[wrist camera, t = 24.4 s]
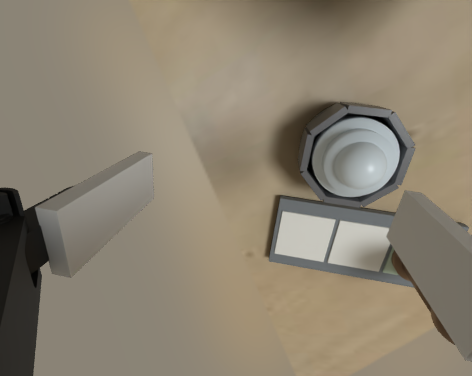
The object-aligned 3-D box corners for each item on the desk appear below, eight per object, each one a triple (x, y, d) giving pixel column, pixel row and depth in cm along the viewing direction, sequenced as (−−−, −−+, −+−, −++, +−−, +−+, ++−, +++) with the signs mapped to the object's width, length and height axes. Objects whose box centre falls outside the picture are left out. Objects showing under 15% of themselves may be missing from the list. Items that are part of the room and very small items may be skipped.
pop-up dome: (319, 110, 24) (330, 119, 19) (402, 120, 23) (436, 132, 18) (303, 183, 27) (309, 207, 22) (376, 193, 26) (399, 221, 21)
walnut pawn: (401, 232, 29) (463, 311, 19) (455, 241, 28) (548, 327, 18) (384, 271, 31) (432, 360, 21) (434, 280, 30) (507, 376, 21)
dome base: (309, 97, 26) (314, 101, 22) (404, 108, 25) (428, 114, 21) (292, 181, 29) (294, 197, 25) (374, 193, 28) (390, 212, 24)
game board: (280, 195, 30) (280, 199, 29) (464, 223, 28) (470, 228, 27) (269, 257, 34) (268, 262, 33) (431, 286, 32) (435, 292, 31)
